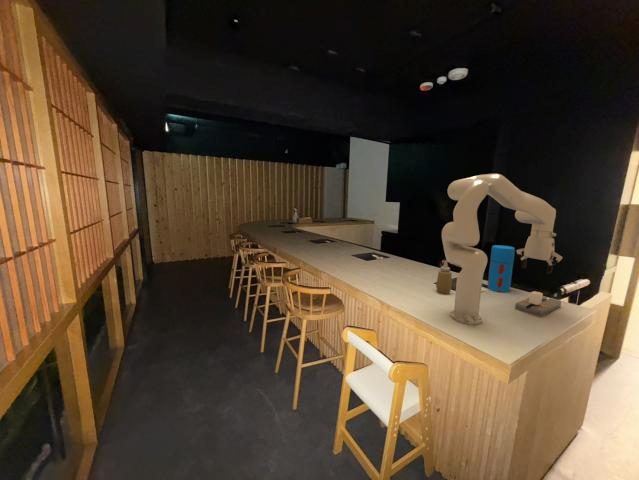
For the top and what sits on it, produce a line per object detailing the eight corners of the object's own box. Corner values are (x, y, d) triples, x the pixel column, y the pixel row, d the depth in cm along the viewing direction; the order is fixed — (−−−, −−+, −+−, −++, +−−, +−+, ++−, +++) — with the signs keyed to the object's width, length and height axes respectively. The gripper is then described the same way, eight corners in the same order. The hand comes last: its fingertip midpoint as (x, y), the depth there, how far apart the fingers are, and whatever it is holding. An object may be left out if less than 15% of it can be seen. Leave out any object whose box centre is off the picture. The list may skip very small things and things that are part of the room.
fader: (532, 303, 130) (534, 291, 129) (541, 305, 127) (542, 293, 126) (528, 304, 128) (530, 292, 127) (537, 307, 125) (539, 294, 124)
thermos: (487, 290, 153) (492, 247, 148) (486, 285, 162) (491, 244, 158) (511, 294, 148) (516, 249, 143) (508, 288, 157) (513, 246, 153)
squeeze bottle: (449, 296, 144) (452, 263, 141) (433, 293, 149) (436, 261, 146) (452, 292, 150) (455, 260, 147) (437, 289, 155) (439, 258, 152)
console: (535, 300, 139) (536, 294, 139) (560, 306, 131) (561, 300, 130) (515, 309, 128) (515, 302, 128) (540, 317, 120) (541, 310, 119)
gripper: (569, 236, 117) (562, 274, 119) (523, 231, 131) (518, 265, 134) (561, 237, 113) (555, 276, 116) (515, 232, 128) (510, 267, 130)
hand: (535, 270), depth 125 cm, fingers open, 9 cm apart
